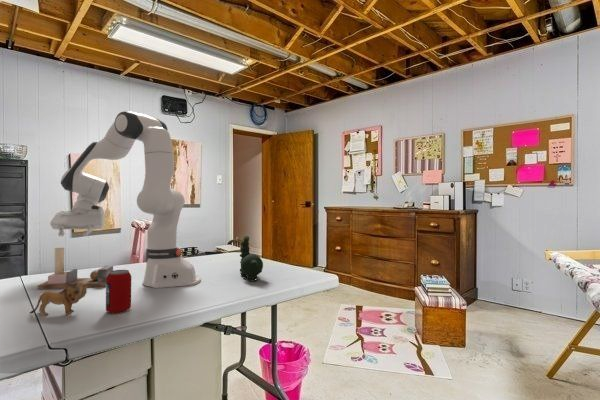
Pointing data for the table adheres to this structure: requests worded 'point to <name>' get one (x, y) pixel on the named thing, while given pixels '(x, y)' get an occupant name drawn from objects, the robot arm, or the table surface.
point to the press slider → (61, 270)
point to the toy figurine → (249, 262)
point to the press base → (83, 280)
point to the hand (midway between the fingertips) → (73, 235)
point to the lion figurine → (62, 298)
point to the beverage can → (118, 291)
